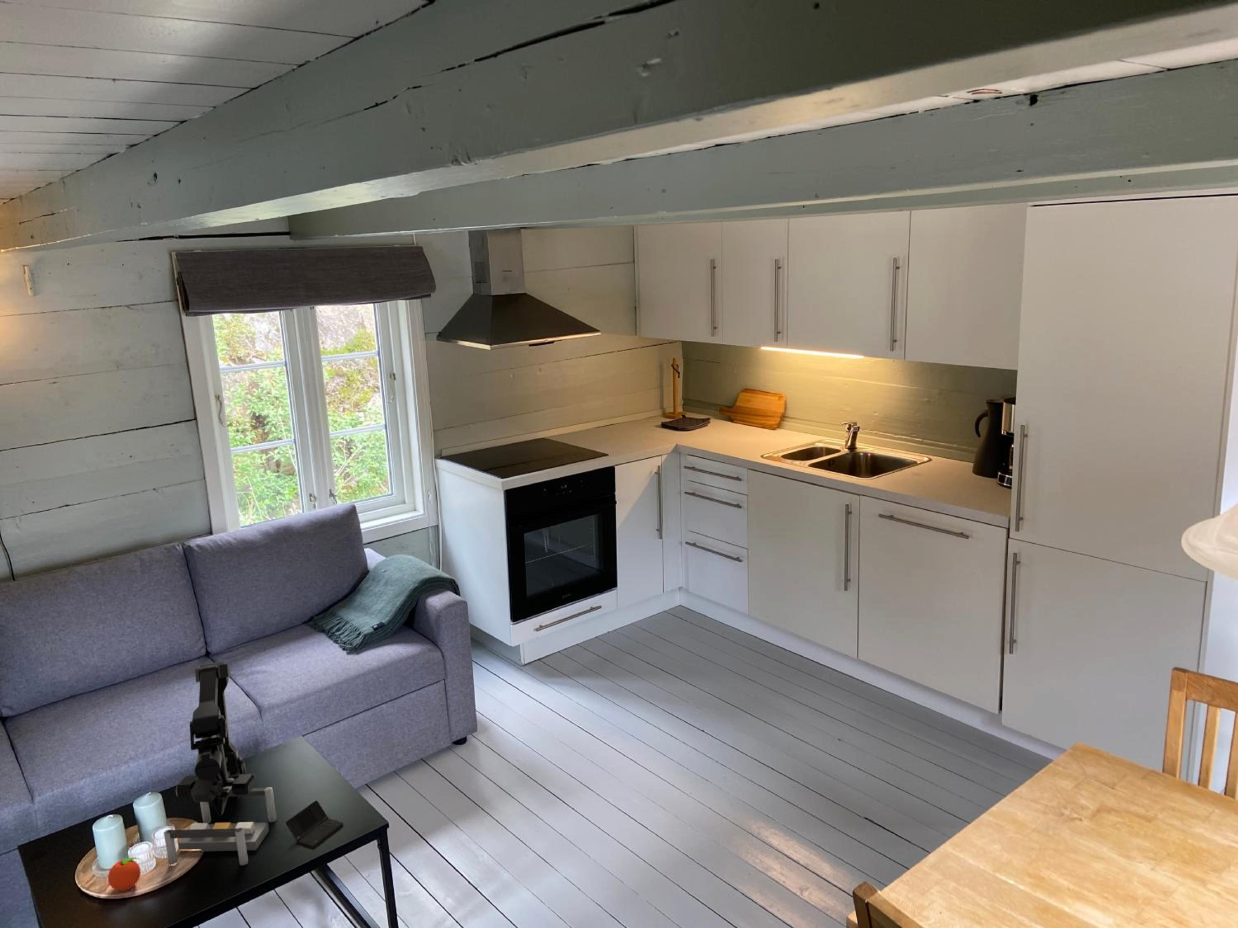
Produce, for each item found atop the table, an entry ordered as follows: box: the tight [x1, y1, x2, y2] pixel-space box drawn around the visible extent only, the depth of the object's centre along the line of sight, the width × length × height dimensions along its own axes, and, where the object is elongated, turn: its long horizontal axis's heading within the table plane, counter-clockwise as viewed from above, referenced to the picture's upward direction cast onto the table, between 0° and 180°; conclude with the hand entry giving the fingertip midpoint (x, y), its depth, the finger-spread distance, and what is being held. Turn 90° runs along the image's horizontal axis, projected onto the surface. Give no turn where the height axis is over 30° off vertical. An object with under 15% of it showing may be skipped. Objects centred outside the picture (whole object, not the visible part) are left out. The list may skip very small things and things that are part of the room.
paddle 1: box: [189, 822, 210, 830], centre depth 236 cm, size 2×4×2 cm, turn 88°
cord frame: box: [163, 787, 277, 866], centre depth 236 cm, size 20×20×9 cm
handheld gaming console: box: [285, 800, 344, 849], centre depth 239 cm, size 12×7×10 cm
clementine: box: [107, 856, 143, 891], centre depth 220 cm, size 8×7×7 cm
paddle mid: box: [213, 822, 232, 829], centre depth 236 cm, size 2×4×2 cm, turn 89°
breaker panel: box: [177, 822, 270, 852], centre depth 237 cm, size 8×20×2 cm, turn 88°
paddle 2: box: [235, 821, 255, 834], centre depth 236 cm, size 2×4×2 cm, turn 89°
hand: (220, 814), depth 235 cm, fingers closed
